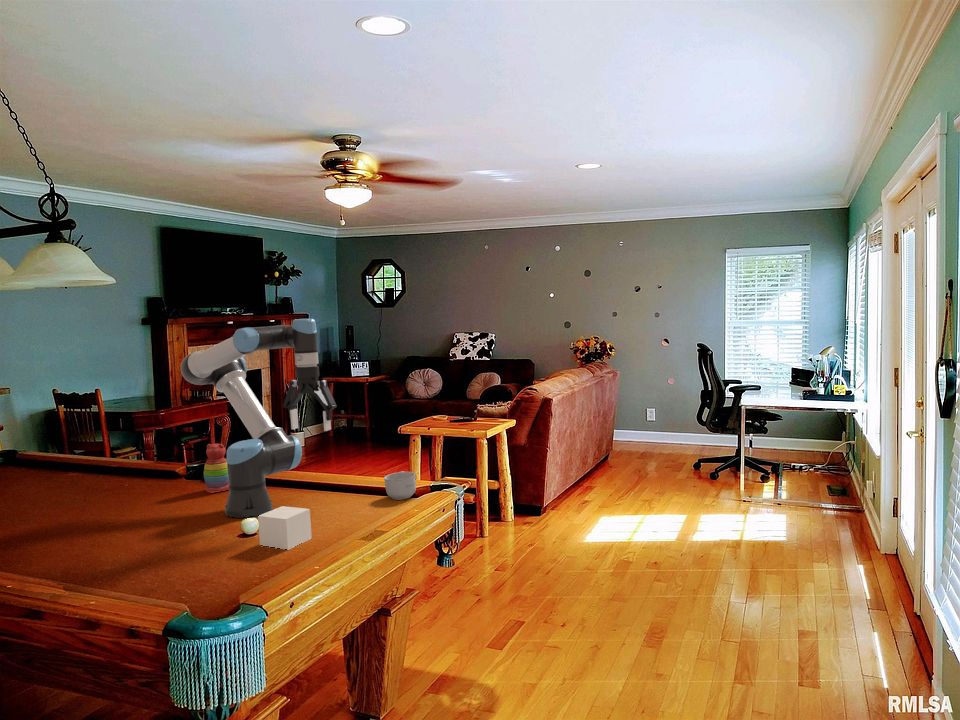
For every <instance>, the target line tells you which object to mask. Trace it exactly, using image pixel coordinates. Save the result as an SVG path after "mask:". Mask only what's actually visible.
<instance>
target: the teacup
mask: <svg viewBox="0 0 960 720" xmlns="http://www.w3.org/2000/svg"><path fill="white" fill-rule="evenodd" d="M383 480H384V486H385V490H386V491H385V492H386V494H387V496H388V497H390V498H391V499H393V500H397V501H398V500H399V501H402V500H405V499H406V500H407V499H410V498H411V497H412V496H413V495H414V494H415V493H416V490H417V482H416V481H417V480H416V473H415V472H413V471H403V470H402V471H399V472H392V473H390V474H387V475H385V476H384V477H383Z"/></svg>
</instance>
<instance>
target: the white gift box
mask: <svg viewBox="0 0 960 720" xmlns="http://www.w3.org/2000/svg"><path fill="white" fill-rule="evenodd" d="M257 518H258V520H257V521H258V522H257V523H258V535H259V546H260V545H263V546H269V547H268V548H270V547H275V548H274V549H277V548H280V549H279V550H285V549H287V550H286V551H289V550H291V549H293V548H295V546H296V547H298V546H300V545H302V544H303V543H306V542H308V541H310V540H311V539H312V523H311V509H310V508H305V507H304V508H302V507H293V506H284V505H283V506H282V505H281V506H279V507H277V508H274V509H272V510H271V511H269V512H266V513H264V514H261V515H259V516H257ZM301 543H302V544H301ZM299 544H300V545H299ZM297 545H298V546H297ZM263 546H262V547H263Z"/></svg>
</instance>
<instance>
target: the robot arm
mask: <svg viewBox="0 0 960 720" xmlns="http://www.w3.org/2000/svg"><path fill="white" fill-rule="evenodd" d="M317 329H318V328H317V324H316V320H315V319H314V318H298V319H297V318H295V319H293V320H292V324H280V325H279V324H277V325H270V326H269V325H267V326H256V327H255V326H254V327H242V328H238V329H236V330H235V332H234V334H233V335H232V336H231V337H230V338H227V339H225V340H223V341H221V342H219V343H217V344H215V345H213V346H211V347H209V348H207V349H204V350H196V351H193V352H192V353H190V354H188V355H186V356H185V357H184V358H183V359H182V361H181V363H180V366H179V367H180V373H181V375H182V377H183V378H184V380H185V381H187V382H188V383H190V384H193V385H197V386H203V385H213V387H214V388H215V389H216V391H217V392H219V393H223V394H224V395H225V397H226V398H227V400H228V402H229V403H230V405H231V407H233V409H234V411H235V413H236V414H237V416H238V417H239V419H240V420H241V422H242V424H243V425H244V426H245V428H246V429H247V431H248V433H249V435H250V436H251V439H249V438H248V439H246V440H245V439H244V440H239V441H236V442H234V443H232V444H231V445H230V446H228V448H227V449H226V458H225V459H226V462H227V468H228V481H229V491H228V493H227V494H228V495H227V500H226V505H225V506H224V515H225V514H226V515H227V516H226V515H225V516H226V517H228V516H229V517H228V518H232V517H235V518H234V519H242V518H243V517H246V518H249V517H248V516H254V517H258V515H261V514H264V513H266V512H269V511H271V510H274V509H273V501H272V499H271V498H270V495H269V491H268V489H267V487H266V485H267V484H266V477H267V476H272V475H275V474H279V473H284V472H288V471H290V470H292V469H295V468H296V467H297V466H299V464H301V461H302V456H303V454H302V453H303V447H302V444H301V442H300V440H299V439H298V437H297V436H294V435H291V434H289V435H287V433H286V432H285V430H284V429H283V427H277V426H276V425H275V424H274V422H273V420H272V419H271V417H270V416H269V414H268V412H267V411H266V410H265V408H264V406H263V405H262V404H261V402H260V401H259V399H258V398H257V396H256V394H255V393H254V392H253V390H252V388H251V387H250V386H249V384H248V382H247V381H246V378H247V372H248V369H247V365H246V364H247V363H246V360H245V356H248V355H251V354H253V353H254V352H257V351H263V350H264V351H265V350H277V349H285V348H287V349H289V348H293V350H294V351H293V353H294V365H295V370H294V371H295V378H297V379H292V380H291V379H290V380H289V382H288V383H289V384H288V385H289V386H288V390H287V392H286V395H285V399H284V402H283V405H282V407H283V408H286V409H287V410H288V419H290V429H291V430H296V429H299V416H298V415H299V413H298V408H297V405H298V403H299V402H300V401H301V399H302V397H303V396H304V395H312V396H314V397H315V398H316V400H317V401H318V403H319V404H320V405H321V407H322V408H323V409H324V410H322V417H323V431H324V432H328V431H331V430H332V425H331V423H332V422H331V421H332V420H333V413H332V410H334V409H337V407H338V405H337V404H336V401H335V398H334V397H333V395H332V393H331V390H330V388H329V386H328V381H327V380H326V379H323V380H319V377H320V367H319V352H318V330H317ZM243 519H244V518H243Z"/></svg>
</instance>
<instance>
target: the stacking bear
mask: <svg viewBox="0 0 960 720" xmlns="http://www.w3.org/2000/svg"><path fill="white" fill-rule="evenodd" d="M205 453H206V457H207V458H208V459H207V460H206V461H205V463H204V469H203V479H204V482H205V486H206V487H205V491H206V490H208V491H223V490H228V489H229V481H228V468H227V462H226V459H227V458H226V457H225V455H226V453H227V449H226V447H225V446H224V445H223V443H213V444H211V443H208V444H207V445H206V451H205Z"/></svg>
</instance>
